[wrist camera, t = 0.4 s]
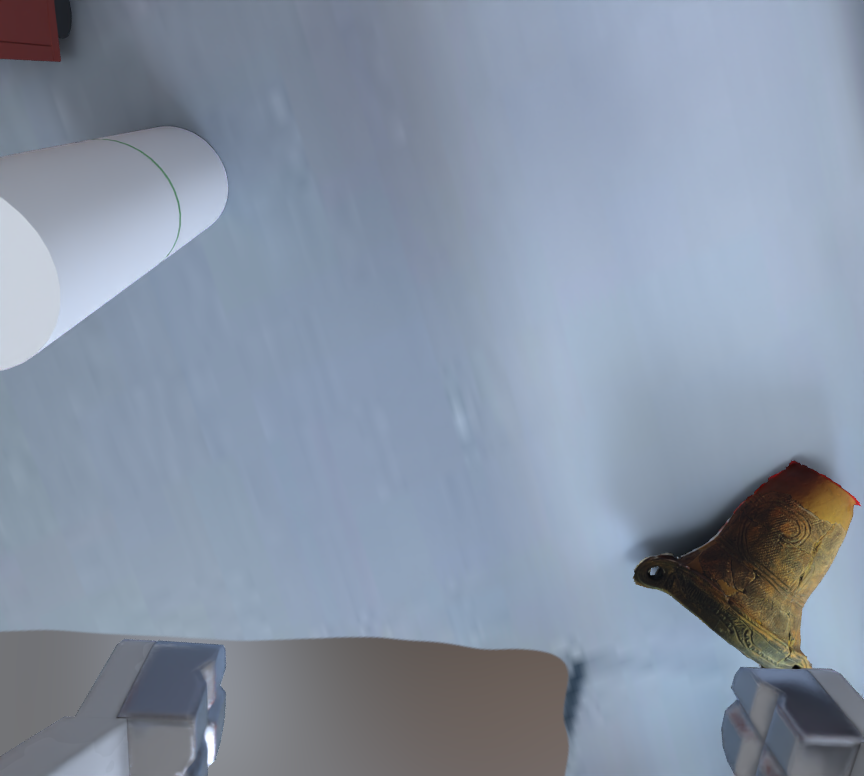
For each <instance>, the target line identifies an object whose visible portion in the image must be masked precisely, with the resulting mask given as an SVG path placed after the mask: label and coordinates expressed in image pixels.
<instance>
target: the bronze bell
mask: <svg viewBox="0 0 864 776" xmlns="http://www.w3.org/2000/svg"><path fill="white" fill-rule="evenodd" d="M768 480H769V481H768V482H766V483H764V484H762V485H761V486H760V487H759V488H758V489H757V490H756V491H755V492H754V494H753V495H751V496H749V497H748V498H747V499H746V500H745V501H743V502H742V503H741V504H740V505H739V507H737V508H736V509H735V511H734V512H733V513H734V514H733V515H732V517H731V518H729V519H728V520H727V521H726V523H725V524H724V525H723V526H722V527H721V529H720V530H719V532H718V533H717V534H716V535H715V536H714V537H713V538H711V539H710V540H709V542H708V543H706V544H704V545H703V546H701V547H699V548H696V549H694V550H693V551H691V552H690V553H689V552H687V554H684V555H681V559H680V558H679V557H677V556H676V557H674V556H673V555H674V554H672V553H664V554H660V555H657V556H649V557H645V559H643V560H641V561H640V563H639V565H637V566H636V568H635V570H634V573H635V574H634V576H633V579H634V582H635V584H636V585H640V586H643V587H646V588H651V589H657V590H660V591H663V592H665V593H667V594H669V595H670V596H672V597H673V598H674V599H675V600H676V601H678V602H679V603H680V604H681V605H682V606H684V607H685V608H686V609H688V610H689V611H690V612H691V613H693V614H694V615H695V616H697V617H698V618H699V619H700V620H701V621H702V622H703V623H705V624H706V625H707V626H708V627H709V628H711V629H712V630H713V631H715V632H716V633H717V634H718V635H719V636H720V637H722V638H723V639H724V640H725V641H727V642H728V643H729V644H731V645H732V646H734V647H735V648H737V649H738V650H739V651H740V652H741V653H743V655H745V656H746V657H748V658H750V659H752V660H754V661H755V662H757V663H758V664H759V666H760V668H779V669H801V668H812V664H811V663H810V662H809V661H808V660H807V657H806V656H805V655H804V654H803V653H802V652H801V650H800V643H801V638H800V626H801V615H802V608H803V607H804V604H805V603H806V601H807V599H808V598H809V596H810V595H811V593H812V592H813V591H814V590H815V589H816V587H817V586H818V584H819V583H820V582H821V580H822V579H823V577H824V576H825V574H826V572H827V571H828V569H829V567H830V566H831V564H832V562H833V560H834V558H835V556H836V554H837V552H838V550H839V547H840V546H841V544H842V542H843V540H844V538H845V536H846V533H847V530H848V528H849V525H850V522H851V520H852V517H853V507H854V505H859V506H861V505H860V504H859V502H858V501H857V500H856V498H855V497H854V496H852V495H851V494H850V493H848V492H847V491H846V490H844V489H843V488H841V486H840V485H839V484H837V483H835V482H834V481H832V480H831V479H830V478H828V477H826V476H825V475H823V474H819V473H818V472H817V471H815V470H813V469H810V468H808V467H807V466H805V465H803V464H802V465H801V464H800V463H798V462H796V461H791V462H790V463H789V466H788V467H786V469H785V470H783V471H781V472H779V473H777V474H775V475H773V476H771V477H769V478H768ZM656 566H658V567H659V568H658V569H657V572H656V573H655V575H650V572H651V568H654V567H656Z"/></svg>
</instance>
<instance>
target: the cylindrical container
mask: <svg viewBox="0 0 864 776" xmlns="http://www.w3.org/2000/svg"><path fill="white" fill-rule="evenodd" d="M227 197H228V180H227V175H226V171H225V168H224V166H223V164H222V162H221V160H220V158H219V156H218V155H217V153H216V152H215V151H214V149H213V148H212V147H211V146H210V145H209V144H208V143H207V142H206V141H205V140H204V139H202V138H201V137H199V136H198V135H196V134H195V133H192V132H190V131H188V130H185V129H183V128H178V127H173V126H161V127H155V128H150V129H145V130H139V131H134V132H129V133H123V134H118V135H113V136H107V137H102V138H97V139H91V140H86V141H81V142H75V143H70V144H65V145H60V146H55V147H49V148H44V149H39V150H34V151H29V152H23V153H18V154H13V155H8V156H2V157H0V370H6V369H9V368H12V367H14V366H17V365H19V364H22V363H24V362H25V361H27V360H28V359H29V358H31V357H32V356H34V355H35V354H37V353H38V352H40V351H41V350H42V349H44V348H45V347H46V346H48V345H49V344H50V343H52V342H53V341H55V340H56V339H57V338H59V337H60V336H61V335H63V334H64V333H65V332H67V331H68V330H70V329H71V328H72V327H74V326H75V325H76V324H78V323H79V322H80V321H82V320H83V319H85V318H86V317H87V316H89V315H90V314H91V313H93V312H94V311H95V310H97V309H98V308H100V307H101V306H102V305H104V304H105V303H106V302H108V301H109V300H110V299H112V298H113V297H115V296H116V295H117V294H119V293H120V292H121V291H123V290H124V289H125V288H127V287H128V286H130V285H131V284H132V283H134V282H135V281H136V280H138V279H139V278H140V277H142V276H143V275H145V274H146V273H147V272H149V271H150V270H151V269H153V268H154V267H155V266H157V265H158V264H159V263H161V262H162V261H164V260H165V259H166V258H168V257H169V256H170V255H172V254H173V253H174V252H176V251H177V250H178V249H180V248H181V247H183V246H184V245H185V244H187V243H188V242H189V241H191V240H192V239H193V238H195V237H196V236H197V235H199V234H200V233H201V232H203V231H204V230H206V229H207V228H208V227H210V226H211V225H212V224H213V223H214V222H215V221H216V220H217V219H218V218H219V217H220V215H221V213H222V211H223V210H224V208H225V204H226V201H227Z"/></svg>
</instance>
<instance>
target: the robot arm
mask: <svg viewBox="0 0 864 776" xmlns="http://www.w3.org/2000/svg"><path fill="white" fill-rule="evenodd" d="M225 656H226V653H225V648H224V646H223V645H218V644H203V643H187V642H171V641H151V640H133V639H132V640H131V639H124V640H122V641H121V642H120V643H118V644H117V645H116V647H115V649H114V650H113V652H112V654H111V656H110V658H109V659H108V661H107V663H106V664H105V666H104V667H103V669H102V671H101V673H100V675H99V676H98V678H97V679H96V681H95V683H94V685H93V686H92V688H91V690H90V691H89V693H88V695H87V697H86V698H85V700H84V702H83V703H82V705H81V707H80V708H79V710H78V712H77V714H76V715H75V717H63V718H61V719H60V720H58V721H56V722H55V723H53V724H51V725H50V726H48V727H47V728H45V729H44V730H42V731H40V732H39V733H37V734H35V735H34V736H32V737H30V738H29V739H27V740H26V741H24V742H22V743H21V744H19V745H18V746H16V747H15V748H13V749H11V750H10V751H8V752H7V753H5V754H3V755H2V756H0V776H208V766H209V765H210V764H211V763H212V762H213V761H214V760H216V756H217V752H218V749H219V746H220V742H221V736H222V731H223V725H224V718H225V706H226V705H225V704H226V692H225V691H224V690H223V688H222V687H221V686H220V684H221V681H222V678H223V675H224V672H225V668H226V657H225ZM731 689H732V690H733V692H734V694H735V696H736V698H737V700H736V701H735V702H734V703H733V704H732V705H731V706H730V707H729V708H728V709H727V710H725V714H724V718H723V723H722V728H721V731H722V743H723V749H724V752H725V755H726V758H727V761H728V763H729V765H730V767H731V769H732V771H733V773H734V774H735V776H864V699H863V698H862V697H861V696H860V695H859V694H858V693H857V692H856V690H855V689H854V688H853V687H852V686H851V685H850V684H849V683H848V681H847V680H846V679H845V678H844V677H843V676H842V675H841V674H840V673H838V672H836V671H835V670H833V669H816V668H801V669H779V668H752V667H740V669H739V670H738V671H737V673H736V674H735V676H734V679H733V683H732V687H731Z"/></svg>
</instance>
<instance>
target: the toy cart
mask: <svg viewBox="0 0 864 776" xmlns="http://www.w3.org/2000/svg"><path fill="white" fill-rule="evenodd" d="M70 29H71V9H70V4H69V0H0V59H14V60H34V61H55V62H60V61H61V56H60V48H59V39H58V38H66V37H67V36H68V35H69V33H70Z"/></svg>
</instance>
